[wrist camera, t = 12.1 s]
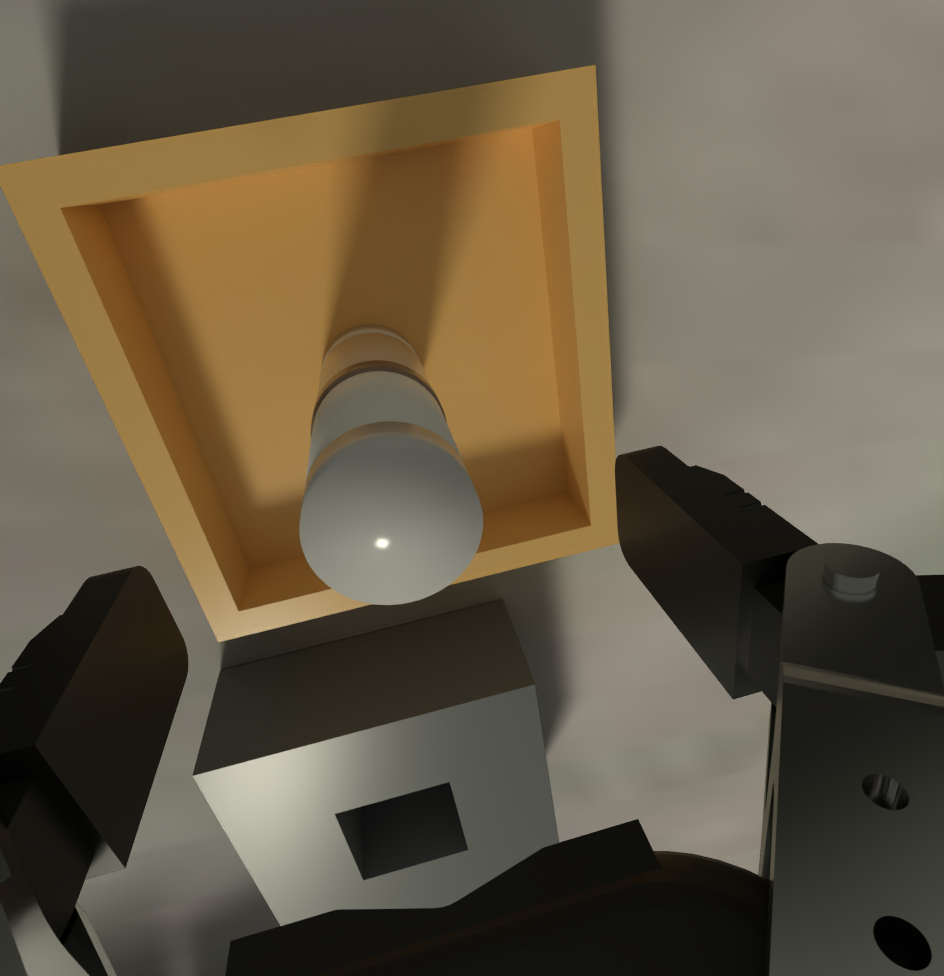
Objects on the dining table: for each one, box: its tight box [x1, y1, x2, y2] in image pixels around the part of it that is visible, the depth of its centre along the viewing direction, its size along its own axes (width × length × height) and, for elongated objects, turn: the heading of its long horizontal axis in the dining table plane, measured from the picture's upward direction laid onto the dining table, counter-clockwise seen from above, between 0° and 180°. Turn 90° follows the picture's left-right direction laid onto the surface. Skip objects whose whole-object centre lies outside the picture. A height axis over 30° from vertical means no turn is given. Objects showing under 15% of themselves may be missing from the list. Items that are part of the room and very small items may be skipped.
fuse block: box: [193, 599, 559, 926], centre depth 26 cm, size 12×12×5 cm
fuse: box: [299, 325, 483, 605], centre depth 15 cm, size 3×3×10 cm
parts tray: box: [0, 65, 620, 642], centre depth 19 cm, size 14×14×4 cm
